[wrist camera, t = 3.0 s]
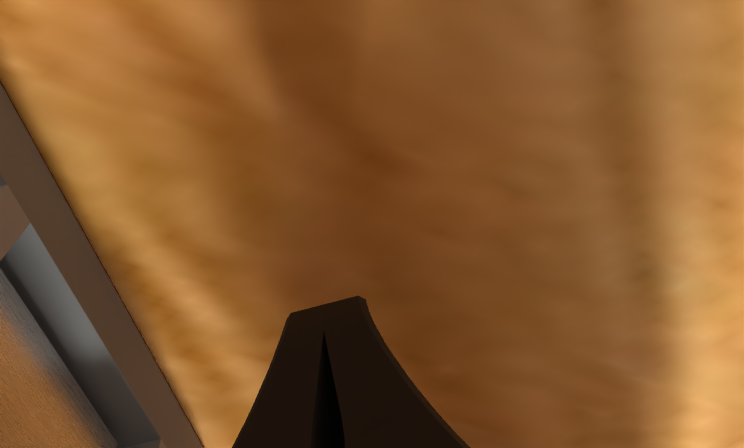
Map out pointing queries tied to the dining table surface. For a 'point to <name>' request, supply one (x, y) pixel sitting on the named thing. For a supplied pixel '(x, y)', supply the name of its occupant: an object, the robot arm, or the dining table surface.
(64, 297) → the gauge base
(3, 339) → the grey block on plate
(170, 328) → the dining table surface
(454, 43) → the dining table surface
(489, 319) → the dining table surface
